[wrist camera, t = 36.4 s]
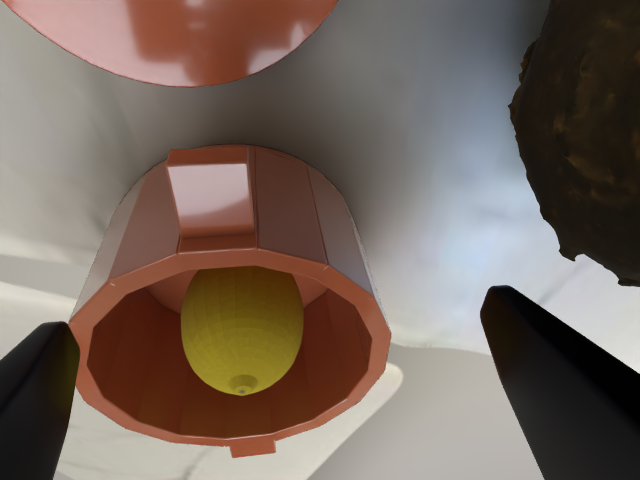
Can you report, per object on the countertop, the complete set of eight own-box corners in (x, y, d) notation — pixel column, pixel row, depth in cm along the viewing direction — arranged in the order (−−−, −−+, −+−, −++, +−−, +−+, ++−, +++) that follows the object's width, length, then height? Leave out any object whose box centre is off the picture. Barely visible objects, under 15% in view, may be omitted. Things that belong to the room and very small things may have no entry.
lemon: (261, 198, 21) (267, 327, 15) (313, 269, 24) (335, 398, 18) (167, 246, 22) (135, 385, 16) (229, 308, 25) (223, 443, 19)
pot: (369, 79, 18) (424, 164, 13) (345, 345, 30) (369, 455, 24) (56, 86, 17) (-43, 186, 11) (155, 363, 28) (131, 484, 22)
